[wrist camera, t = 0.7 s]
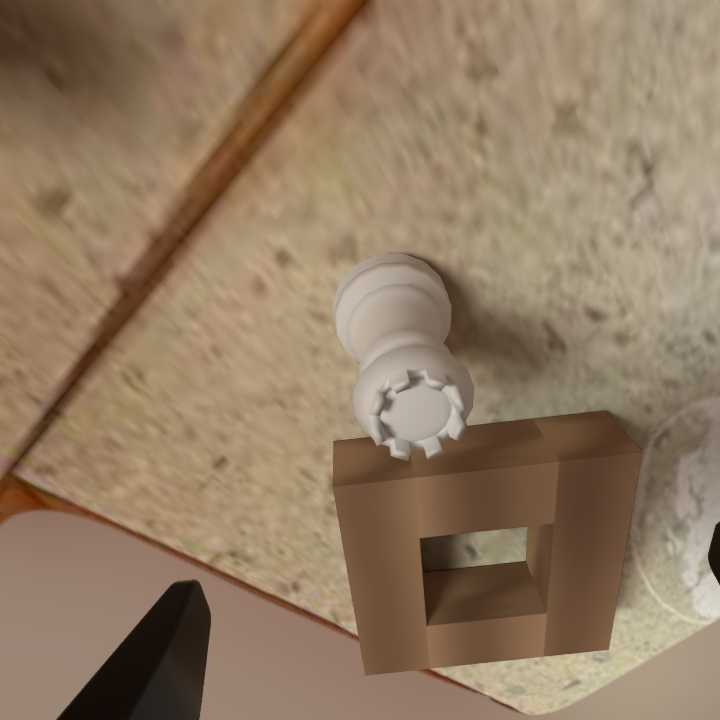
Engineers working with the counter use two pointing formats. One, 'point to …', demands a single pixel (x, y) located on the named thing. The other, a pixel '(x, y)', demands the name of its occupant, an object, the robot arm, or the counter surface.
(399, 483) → the walnut socket
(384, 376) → the rook chess piece
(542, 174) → the counter surface
